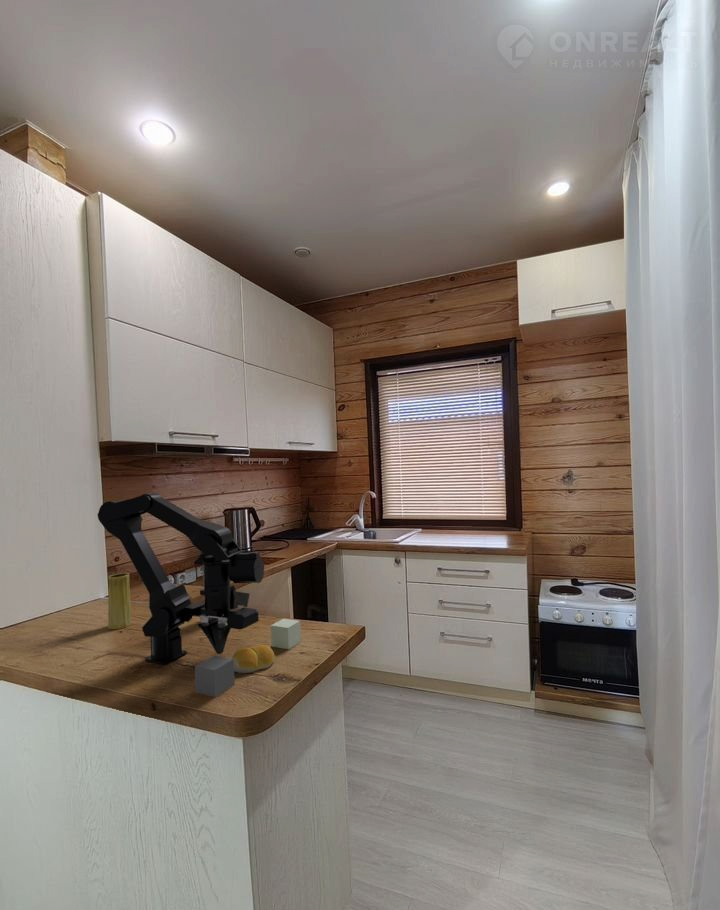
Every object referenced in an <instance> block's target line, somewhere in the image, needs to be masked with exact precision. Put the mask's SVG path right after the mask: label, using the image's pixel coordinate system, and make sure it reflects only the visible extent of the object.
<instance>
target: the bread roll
mask: <svg viewBox="0 0 720 910" xmlns="http://www.w3.org/2000/svg"><path fill="white" fill-rule="evenodd" d="M231 659H234V673H235V672H236V673H238V674H251V673H254V672H257V671H259V670H264V669H267V668H270V667H271V666H272V664H273V662H274V660H275V652H274V651H273V649H272V647H270V646H268V645H267V644H259V645H252V646H251V647H243V648H239V649H237V650H236V651H235V652H234V653H233V654H232V658H231Z"/></svg>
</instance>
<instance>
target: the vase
mask: <svg viewBox="0 0 720 910" xmlns="http://www.w3.org/2000/svg"><path fill="white" fill-rule="evenodd" d="M107 579H108V612H107V613H108V616H107V617H108V618H107V619H108V622H107V628H108V629H109V630H121V629H124V627H125V628H127V626H128V627H130V626H131V625H133V619H132V618H133V617H132V605H131V592H130V591H131V590H130V587H131V586H130V581H131V580H130V573H128V572H122V573H121V572H120V573H115V574H114V573H113V574H112V575H109V576H108V578H107Z"/></svg>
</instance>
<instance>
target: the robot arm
mask: <svg viewBox="0 0 720 910" xmlns="http://www.w3.org/2000/svg"><path fill="white" fill-rule="evenodd" d="M144 514H150V515H151V516H152V517H154V518H156V519H157V520H160V521H161V522H163V523H164V524H166V525H168V526H169V527H171V528H173V529H174V530H176V531H178V532H180V533H181V534H182V535H185V536H186V537H187V538H188V539H189V541H190V542H191V544H192V545H193V546H194V547H195V548H196V549H197V550H198V551H199V552H201V553H200V555H199V556H198V557H197V558H196V560H195V561H193V565H194V566H195V565H197V566H199V565H202V566H203V567H202V572H204V575H203V589H200V590H199V596H203V598H204V599H203V600H204V601H205V603H204V602H201V601H195V602H193V603H192V602H191V599H192V596H190V595H189V593H188V591H187V589H186V587H185V585H184V584H183V583H181V584H178V585H176V584H174V583H173V582H172V581H170V579H169V577H168V575H167V573H166V572H165V569H164V568H163V566H162V565H161V562H160V560H159V559H158V557H157V556H156V554H155V552H154V550H153V548H152V547H151V545H150V543H149V541H148V540H147V537H146V536H145V534H144V532H143V530H142V516H143V515H144ZM97 518H98V522H99V523H100V524H101V526H103V528H104V529H105V530H106V531H107V532H108V533H109V534H111V535H112V536H114V537H115V538H117V540H119V541H120V542H121V545H122V546H123V548H124V550H125V552H126V554H127V555H128V558H129V559H130V561H131V563H132V565H133V566H134V569H135V570H136V572H137V574H138V575H139V577H140V579H141V582H142V583H143V585H144V586H145V588H146V591H147V592H148V594H149V595H148V596H149V597H148V599H149V600H148V601H149V602H148V603H149V604H148V606H149V607H148V608H149V611H150V614H151V617H150V618H149V619H148V621H146V623H144V624H143V626H142V628H141V630H142V632H143V635H144V637H150V655H148V656H147V657H145V658H144V660H145V661H147V662H150V663H156V664H159V665H166V664H168V663H170V662H172V661H174V660H176V659H178V658H181V657H183V656H184V655H186V654H187V653H188V651H187V650H184V649H183V646H182V644H183V643H182V641H183V640H182V635H181V633H182V632H181V628H180V626H182V625H184V624H185V623H186V622H187V623H189V622H190V621H192V620H193V617H199V619H200V623H198V624H197V626H198V628H200V629H201V630H202V632H203V633H204V635H205V636H206V638H207V639H208V641H209V643H210V645H211V646H212V648H213V649H214V651H215V654H217V655H221V654H223V653H224V649H225V647H226V643H227V641H228V637H229V634H230V631H231V629H234V630H244V629H245V628H248V627H249V626H251V625H253V624H256V623H258V622H259V620H260V619H259V617H260V616H259V611H258V610H257V609H256V608H253V607H252V608H251V607H249V605H248V604H249V600H250V596H251V595H250V593H248V592H241V591H236V590H237V589H236V586H235V585H233V584H232V583H234V584H260V583H262V581H263V578H264V575H265V564H264V562H263V559H262V557H261V556H260V555H261V554H260V551H252V552H243V550H242V548H241V547H240V546H239V545H238V543H237V542H236V541H235V539H234V538H233V535H232V530H231V529H229V528H228V527H226V526H224V525H221V524H218V523H215V522H211V521H207V520H202V519H200V518H198V517H197V516H195V515H194V514H191V513H190V512H188V511H186V510H185V509H183V508H181V507H179V506H177V505H176V504H174V503H172V502H171V501H169V500H167V499H166V498H164V497H162V495H160V494H158V493H156V492H154V493H152V492H151V493H143V494H141V495H138V496H136V497H133V498H128V499H121V500H112V501H106V502H104V503H102V504H101V505H100V507H99V509H98V513H97ZM224 550H226V552H225V551H224ZM210 555H212V556H210ZM231 582H232V583H231ZM239 606H242V607H241V608H239ZM238 608H239V609H238ZM235 609H236V610H235ZM233 610H234V611H233Z"/></svg>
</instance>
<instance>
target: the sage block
mask: <svg viewBox="0 0 720 910" xmlns="http://www.w3.org/2000/svg"><path fill="white" fill-rule="evenodd" d="M301 629H302V628H301V620H297V619H290V618H282V619H280V620H278V621H276V622H275V623H273V624H271V625H270V633H271V634H270V637H271V640H270V641H271V648H279V649H285V650H290V649H292V648H293V647H295V646H296V645H298V644H299V643H301V642H302V631H301Z"/></svg>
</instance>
